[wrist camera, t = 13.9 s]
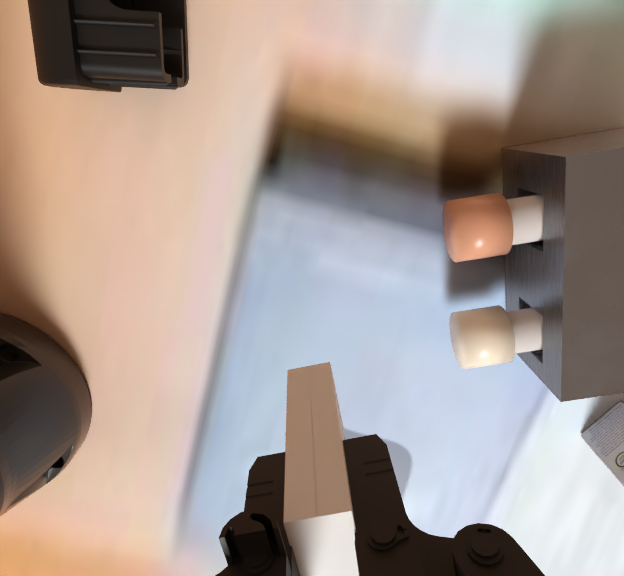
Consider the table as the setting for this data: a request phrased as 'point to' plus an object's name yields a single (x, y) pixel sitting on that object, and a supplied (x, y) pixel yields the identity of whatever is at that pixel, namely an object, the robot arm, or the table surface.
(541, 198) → the knob
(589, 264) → the grey peg holder block
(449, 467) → the table surface
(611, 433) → the medicine box
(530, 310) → the knob
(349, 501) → the robot arm
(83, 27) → the end cap
